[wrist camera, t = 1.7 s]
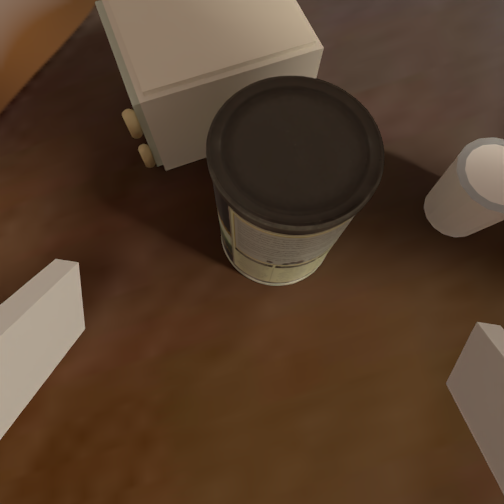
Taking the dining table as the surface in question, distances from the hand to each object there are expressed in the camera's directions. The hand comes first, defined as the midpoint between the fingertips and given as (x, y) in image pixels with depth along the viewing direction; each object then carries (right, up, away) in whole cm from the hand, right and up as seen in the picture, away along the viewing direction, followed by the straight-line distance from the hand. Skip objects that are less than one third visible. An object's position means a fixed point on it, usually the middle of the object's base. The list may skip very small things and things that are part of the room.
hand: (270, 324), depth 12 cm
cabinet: (-4, +18, +26) cm, 33 cm away
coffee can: (+2, +4, +22) cm, 23 cm away
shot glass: (+19, +6, +23) cm, 31 cm away
